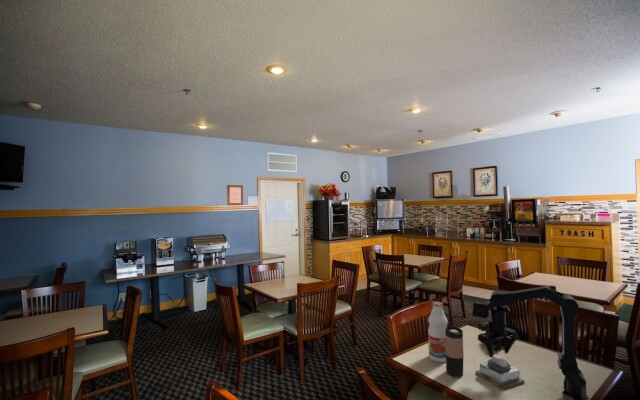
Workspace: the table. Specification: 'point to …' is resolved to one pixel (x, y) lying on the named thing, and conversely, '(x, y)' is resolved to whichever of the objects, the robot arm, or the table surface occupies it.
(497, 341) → the camera
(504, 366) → the grey disc with handle
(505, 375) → the hollow square frame
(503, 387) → the walnut plate
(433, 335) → the fruit juice
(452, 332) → the travel mug
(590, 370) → the table surface
